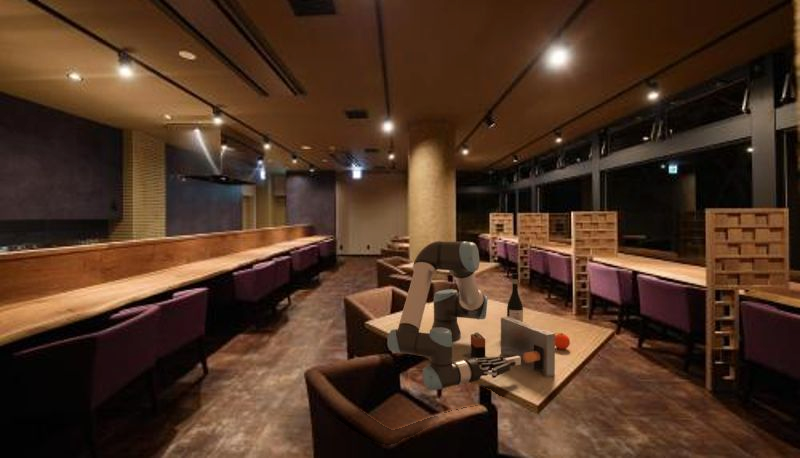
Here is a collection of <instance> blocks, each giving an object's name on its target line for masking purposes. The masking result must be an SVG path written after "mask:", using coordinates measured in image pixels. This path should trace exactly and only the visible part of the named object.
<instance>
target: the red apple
mask: <svg viewBox="0 0 800 458" xmlns="http://www.w3.org/2000/svg"><path fill="white" fill-rule="evenodd" d="M570 344H571V341H570V338H569V337H568V335H567V334H565V333H561V332H556V333H555V348H557V349H558V350H566V349H568V347H569V346H570Z"/></svg>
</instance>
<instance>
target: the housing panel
mask: <svg viewBox="0 0 800 458" xmlns="http://www.w3.org/2000/svg"><path fill="white" fill-rule="evenodd" d="M555 335H556V334H555V333H554V332H552V331H549V330H545V328H541V327H538V326H535V325H533V324H530V323H527V322H524V321H523V322H522V321H519V320H516V319H513V318H511V317H507V316H503V317H500V355H501V356H503V357H506V358H509V357H514V356H520V357H521V364H520V365H522V367H526V368H527V369H529V370H531V371H533V372H536V371H540V370H541V371H543V377H545V378H546V379H547V378H551V377H554V376H555V373H556V372H555V371H556V370H555V368H556V367H555V366H556V363H555V362H556V346H555ZM532 351H537V352H538V353H539V354H540V360H539V361H534V362H530V363H526V362H525V361H524V359H523V354H524V353H527V352H532Z"/></svg>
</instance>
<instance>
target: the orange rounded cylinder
mask: <svg viewBox="0 0 800 458" xmlns="http://www.w3.org/2000/svg"><path fill="white" fill-rule="evenodd" d="M523 359H524V361H525V362H526V363H530V362H534V361H539V360H540V354H539V353H538V352H537V351H532V352H527V353H524V354H523Z"/></svg>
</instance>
